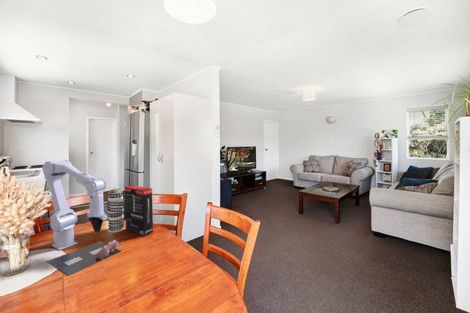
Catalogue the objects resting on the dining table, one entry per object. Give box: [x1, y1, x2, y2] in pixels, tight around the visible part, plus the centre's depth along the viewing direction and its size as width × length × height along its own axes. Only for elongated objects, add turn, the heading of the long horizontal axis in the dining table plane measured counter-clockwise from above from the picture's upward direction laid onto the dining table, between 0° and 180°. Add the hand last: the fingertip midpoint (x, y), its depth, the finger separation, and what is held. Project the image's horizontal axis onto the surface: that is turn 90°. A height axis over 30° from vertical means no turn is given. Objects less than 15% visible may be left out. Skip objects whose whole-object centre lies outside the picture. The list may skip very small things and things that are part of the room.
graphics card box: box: [124, 184, 154, 237], centre depth 124 cm, size 17×7×27 cm, turn 63°
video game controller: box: [95, 239, 120, 258], centre depth 99 cm, size 10×5×7 cm, turn 172°
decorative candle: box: [106, 188, 125, 234], centre depth 127 cm, size 9×9×25 cm
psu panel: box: [47, 240, 122, 276], centre depth 98 cm, size 20×22×1 cm
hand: (97, 231), depth 103 cm, fingers closed
